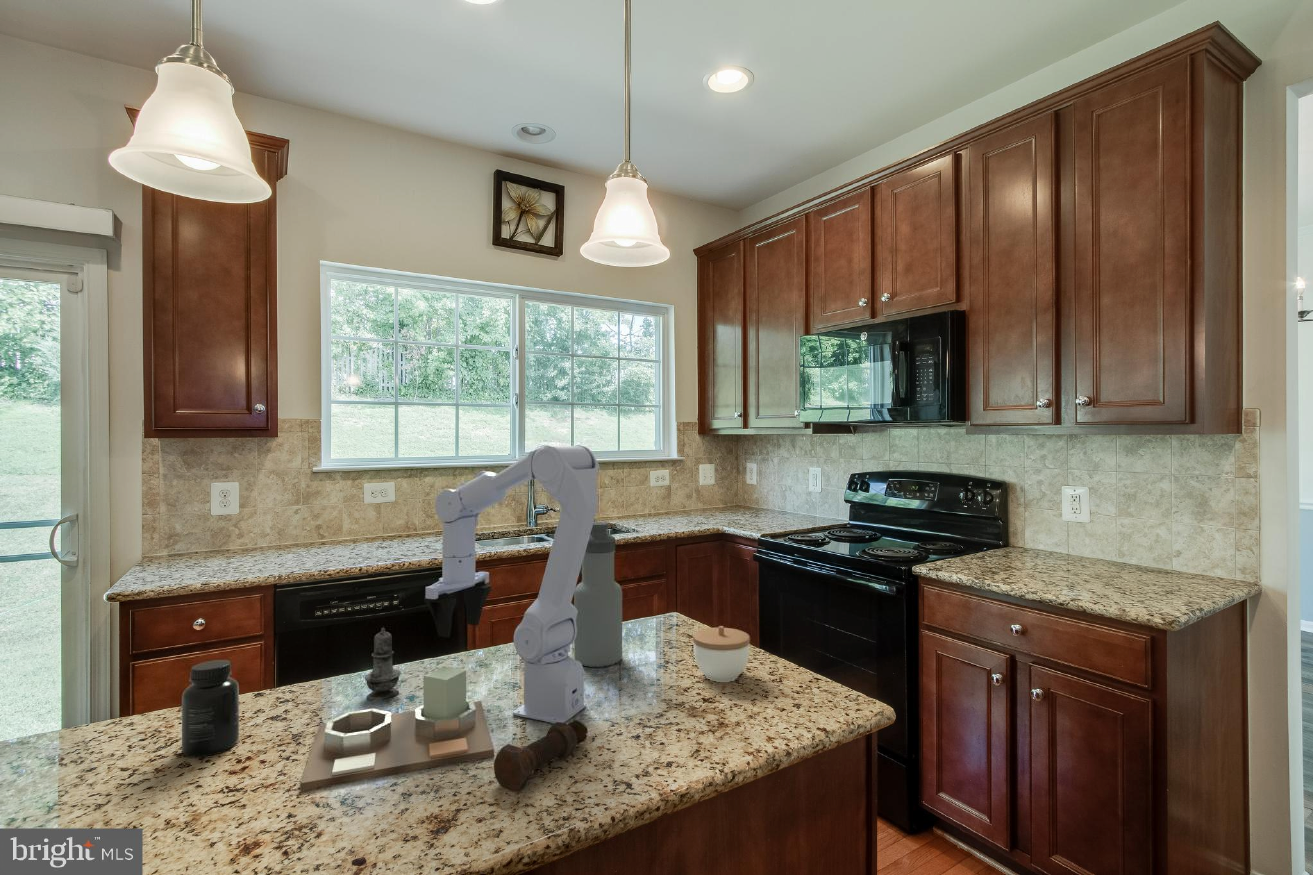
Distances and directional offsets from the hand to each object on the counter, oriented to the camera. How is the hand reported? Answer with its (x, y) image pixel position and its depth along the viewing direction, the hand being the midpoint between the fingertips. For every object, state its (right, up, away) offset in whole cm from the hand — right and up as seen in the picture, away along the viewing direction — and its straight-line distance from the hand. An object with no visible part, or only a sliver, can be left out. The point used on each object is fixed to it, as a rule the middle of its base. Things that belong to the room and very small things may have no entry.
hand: (459, 630), depth 114 cm
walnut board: (-2, -10, -21) cm, 24 cm away
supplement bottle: (-29, -11, -22) cm, 38 cm away
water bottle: (+24, -11, +15) cm, 30 cm away
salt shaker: (-12, -11, -3) cm, 17 cm away
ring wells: (-2, -9, -20) cm, 22 cm away
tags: (+1, -9, -27) cm, 29 cm away
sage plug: (+3, -9, -18) cm, 20 cm away
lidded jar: (+48, -11, +5) cm, 50 cm away
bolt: (+21, -11, -27) cm, 36 cm away
